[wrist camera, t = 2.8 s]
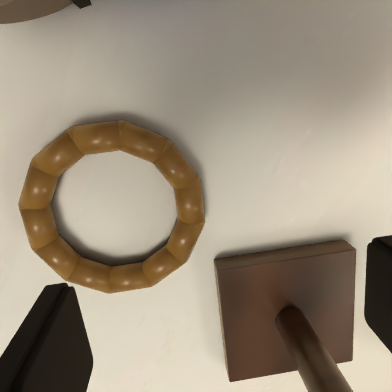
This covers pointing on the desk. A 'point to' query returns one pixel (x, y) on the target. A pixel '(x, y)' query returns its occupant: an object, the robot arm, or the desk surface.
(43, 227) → the ring
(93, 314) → the desk surface
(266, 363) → the peg stand
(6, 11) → the figurine character
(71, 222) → the desk surface
